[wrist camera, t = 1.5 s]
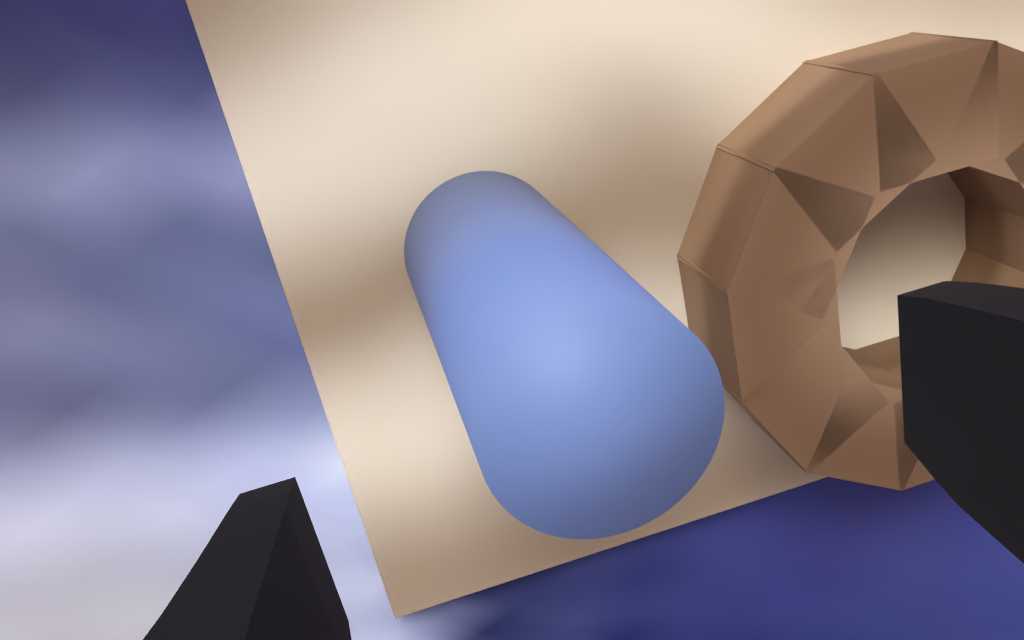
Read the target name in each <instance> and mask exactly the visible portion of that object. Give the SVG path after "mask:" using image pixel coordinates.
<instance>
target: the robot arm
mask: <svg viewBox="0 0 1024 640" xmlns="http://www.w3.org/2000/svg"><path fill="white" fill-rule="evenodd" d="M897 301H898V321H899V342H900V362H901V382H902V403H903V423H904V442H905V444H906V445H907V446H908V447H909V448H910V450H911V451H912V452H913V453H914V454H915V456H916V457H917V458H918V459H919V461H920V462H921V463H922V464H923V465H924V467H925V468H926V469H927V470H928V471H929V473H930V474H931V475H932V476H933V477H934V479H935V480H936V481H937V482H938V483H939V484H940V485H941V486H942V488H943V489H944V490H945V491H946V492H947V493H948V494H949V495H950V496H951V498H952V499H953V500H954V501H955V502H956V503H957V504H958V505H959V506H960V507H961V508H962V509H963V510H964V511H965V512H966V513H968V514H969V515H970V516H971V517H972V518H973V519H974V520H975V521H976V522H978V523H979V524H980V525H981V526H982V527H983V528H984V529H985V530H987V531H988V532H989V533H990V534H991V535H992V536H993V537H994V538H996V539H997V540H998V541H999V542H1000V543H1001V544H1002V545H1003V546H1005V547H1006V548H1007V549H1008V550H1009V551H1010V552H1011V553H1013V554H1014V555H1015V556H1016V557H1017V558H1018V559H1020V560H1021V561H1022V562H1023V563H1024V288H1018V287H1010V286H1002V285H994V284H985V283H975V282H960V281H943V282H940V283H936V284H933V285H930V286H926V287H923V288H920V289H916V290H913V291H910V292H906V293H903V294H900V295H897ZM143 640H351V634H350V628H349V622H348V619H347V616H346V613H345V611H344V608H343V605H342V603H341V600H340V597H339V594H338V592H337V589H336V586H335V584H334V581H333V578H332V576H331V573H330V570H329V568H328V565H327V562H326V559H325V557H324V554H323V551H322V549H321V546H320V543H319V541H318V538H317V535H316V532H315V530H314V527H313V524H312V522H311V519H310V516H309V514H308V511H307V508H306V506H305V503H304V500H303V497H302V495H301V492H300V489H299V487H298V484H297V481H296V479H295V477H294V478H291V479H288V480H284V481H281V482H278V483H274V484H271V485H268V486H264V487H261V488H258V489H254V490H251V491H248V492H245V493H241V494H240V495H239V496H238V497H237V499H236V500H235V502H234V503H233V505H232V506H231V508H230V509H229V511H228V512H227V514H226V516H225V517H224V519H223V520H222V522H221V523H220V525H219V527H218V528H217V530H216V531H215V533H214V535H213V536H212V538H211V539H210V541H209V543H208V544H207V546H206V547H205V549H204V551H203V552H202V554H201V555H200V557H199V558H198V560H197V562H196V563H195V565H194V566H193V568H192V569H191V571H190V572H189V574H188V575H187V577H186V578H185V580H184V581H183V583H182V584H181V586H180V587H179V589H178V591H177V592H176V594H175V595H174V597H173V598H172V600H171V601H170V603H169V604H168V606H167V607H166V609H165V610H164V612H163V613H162V615H161V616H160V617H159V619H158V620H157V621H156V623H155V624H154V626H153V627H152V628H151V630H150V631H149V632H148V634H147V635H146V636H145V638H144V639H143Z"/></svg>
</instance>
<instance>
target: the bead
mask: <svg viewBox="0 0 1024 640" xmlns="http://www.w3.org/2000/svg"><path fill="white" fill-rule="evenodd" d="M944 173H948V174H949V176H950V177H951V178H952V180H953V181H954V183H955V184H956V186H957V187H958V189H959V190H960V192H961V193H962V195H963V196H964V200H965V237H966V249H965V251H964V254H963V256H962V258H961V260H960V262H959V265H958V267H957V269H956V271H955V273H954V276H953V278H952V280H951V281H960V282H975V283H985V284H994V285H1002V286H1010V287H1018V288H1024V52H1023V51H1020V50H1017V49H1015V48H1012V47H1010V46H1007V45H1004V44H1002V43H999V42H998V41H997V40H987V39H977V38H967V37H957V36H947V35H937V34H927V33H917V32H910V33H909V34H905V35H902V36H898V37H894V38H890V39H887V40H883V41H879V42H875V43H872V44H868V45H864V46H860V47H857V48H853V49H849V50H846V51H842V52H838V53H834V54H831V55H827V56H823V57H819V58H816V59H812V60H806V61H805V62H803V64H802V65H801V66H800V67H799V68H797V69H796V70H795V71H794V72H793V73H792V74H791V75H790V76H789V77H788V78H787V79H786V80H785V81H784V82H783V83H782V84H781V85H780V86H779V87H778V88H777V89H776V90H774V91H773V92H772V93H771V94H770V95H769V96H768V97H767V98H766V99H765V100H764V101H763V102H762V103H761V104H760V105H759V106H758V107H757V108H756V109H755V110H754V111H753V112H751V113H750V114H749V115H748V116H747V117H746V118H745V119H744V120H743V121H742V122H741V123H740V124H739V125H738V126H737V127H736V128H735V129H734V130H733V131H732V132H731V133H730V134H728V135H727V136H726V137H725V138H724V139H723V140H722V141H721V142H720V143H718V144H717V146H716V150H715V153H714V155H713V158H712V161H711V164H710V166H709V169H708V172H707V175H706V177H705V180H704V183H703V186H702V188H701V191H700V194H699V197H698V199H697V202H696V205H695V208H694V210H693V213H692V216H691V219H690V221H689V224H688V227H687V229H686V232H685V235H684V238H683V240H682V243H681V246H680V249H679V251H678V253H677V258H678V264H679V270H680V277H681V283H682V290H683V296H684V302H685V309H686V315H687V321H688V328H689V330H690V331H692V332H693V333H694V334H695V335H696V336H697V337H698V338H699V339H700V340H701V341H702V343H703V344H704V345H705V347H706V348H707V349H708V350H709V352H710V354H711V356H712V357H713V359H714V361H715V363H716V365H717V368H718V371H719V373H720V376H721V380H722V385H723V388H724V389H725V390H726V391H727V392H728V393H729V394H730V395H731V396H732V398H733V399H734V400H735V401H736V402H737V403H738V404H739V405H740V406H741V407H742V408H743V409H744V410H745V411H746V412H747V413H748V415H749V416H750V417H751V418H752V420H753V421H754V422H755V423H756V424H757V425H758V426H759V427H760V428H761V429H762V430H763V431H764V432H765V433H766V434H767V435H768V436H769V437H770V438H771V439H772V440H773V441H774V442H775V443H776V444H777V445H778V446H779V447H780V448H781V449H782V450H783V451H784V452H785V453H786V454H787V455H789V456H790V457H791V458H792V459H793V460H794V461H795V462H796V463H797V464H798V465H799V466H800V467H801V468H802V469H803V470H804V471H805V472H806V473H808V474H810V473H811V474H816V475H821V476H827V477H832V478H837V479H843V480H848V481H853V482H858V483H864V484H869V485H874V486H880V487H885V488H890V489H895V490H899V491H903V490H905V489H908V488H911V487H914V486H917V485H920V484H923V483H926V482H929V481H932V480H935V479H934V477H933V476H932V475H931V474H930V473H929V471H928V470H927V469H926V468H925V467H924V465H923V464H922V463H921V462H920V461H919V459H918V458H917V457H916V456H915V454H914V453H913V452H912V451H911V450H910V448H909V447H908V446H907V445H906V444H905V442H904V423H903V403H902V382H901V362H900V342H899V336H897V337H894V338H891V339H888V340H884V341H881V342H878V343H875V344H871V345H868V346H865V347H862V348H859V349H851V348H846V347H842V346H841V336H840V324H839V313H838V301H837V290H836V289H837V286H838V284H839V282H840V279H841V277H842V274H843V272H844V270H845V267H846V265H847V263H848V260H849V258H850V255H851V253H852V251H853V248H854V246H855V243H856V241H857V239H858V236H859V234H860V231H861V229H862V228H863V227H864V226H865V225H866V224H867V223H868V222H869V221H871V220H872V219H873V218H874V217H875V216H876V215H877V214H878V213H879V212H880V211H881V210H882V209H883V208H885V207H886V206H887V205H888V204H889V203H890V202H891V201H892V200H893V199H894V198H895V197H896V196H897V195H899V194H900V193H901V192H902V191H903V190H904V189H905V188H906V187H907V186H908V185H909V184H910V183H913V182H916V181H920V180H923V179H927V178H930V177H933V176H937V175H940V174H944Z"/></svg>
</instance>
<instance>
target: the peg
mask: <svg viewBox="0 0 1024 640" xmlns="http://www.w3.org/2000/svg"><path fill="white" fill-rule="evenodd" d="M404 260H405V266H406V270H407V274H408V276H409V279H410V282H411V285H412V287H413V290H414V293H415V295H416V298H417V301H418V303H419V306H420V309H421V311H422V314H423V317H424V319H425V322H426V325H427V327H428V330H429V333H430V335H431V338H432V341H433V343H434V346H435V349H436V351H437V354H438V357H439V359H440V362H441V365H442V367H443V370H444V373H445V375H446V378H447V381H448V383H449V386H450V389H451V391H452V394H453V397H454V400H455V402H456V405H457V408H458V410H459V413H460V416H461V418H462V421H463V424H464V426H465V429H466V432H467V434H468V437H469V440H470V442H471V445H472V448H473V450H474V453H475V456H476V458H477V461H478V464H479V466H480V469H481V472H482V474H483V477H484V480H485V482H486V484H487V485H488V487H489V489H490V491H491V493H492V494H493V496H494V497H495V498H496V500H497V501H498V502H499V504H500V505H501V506H502V507H503V508H504V509H505V510H506V511H507V512H508V513H509V514H511V515H512V516H513V517H515V518H516V519H517V520H519V521H520V522H522V523H523V524H525V525H527V526H529V527H531V528H533V529H535V530H537V531H540V532H543V533H545V534H548V535H552V536H557V537H561V538H569V539H597V538H604V537H610V536H614V535H618V534H622V533H625V532H628V531H631V530H633V529H636V528H638V527H641V526H643V525H645V524H647V523H649V522H650V521H652V520H654V519H656V518H657V517H659V516H660V515H662V514H664V513H665V512H667V511H668V510H669V509H670V508H672V507H673V506H674V505H675V504H677V503H678V502H679V501H680V500H681V499H682V498H683V497H684V496H685V495H686V494H687V493H688V492H689V491H690V490H691V489H692V488H693V486H694V485H695V484H696V483H697V481H698V480H699V479H700V478H701V476H702V475H703V473H704V471H705V470H706V468H707V467H708V465H709V463H710V461H711V459H712V457H713V455H714V453H715V451H716V448H717V445H718V442H719V439H720V436H721V432H722V427H723V422H724V411H725V400H724V389H723V385H722V380H721V376H720V373H719V371H718V368H717V365H716V363H715V361H714V359H713V357H712V356H711V354H710V352H709V350H708V349H707V348H706V347H705V345H704V344H703V343H702V341H701V340H700V339H699V338H698V337H697V336H696V335H695V334H694V333H693V332H692V331H690V330H689V329H688V328H687V327H686V326H685V325H684V324H683V323H682V322H681V321H680V320H678V319H677V318H676V317H675V316H674V315H673V314H672V313H671V312H670V311H669V310H667V309H666V308H665V307H664V306H663V305H662V304H661V303H660V302H659V301H658V300H656V299H655V298H654V297H653V296H652V295H651V294H650V293H649V292H648V291H647V290H645V289H644V288H643V287H642V286H641V285H640V284H639V283H638V282H637V281H636V280H634V279H633V278H632V277H631V276H630V275H629V274H628V273H627V272H626V271H625V270H624V269H622V268H621V267H620V266H619V265H618V264H617V263H616V262H615V261H614V260H613V259H611V258H610V257H609V256H608V255H607V254H606V253H605V252H604V251H603V250H602V249H600V248H599V247H598V246H597V245H596V244H595V243H594V242H593V241H592V240H591V239H589V238H588V237H587V236H586V235H585V234H584V233H583V232H582V231H581V230H580V229H578V228H577V227H576V226H575V225H574V224H573V223H572V222H571V221H570V220H569V219H567V218H566V217H565V216H564V215H563V214H562V213H561V212H560V211H559V210H558V209H556V208H555V207H554V206H553V205H552V204H551V203H550V202H549V201H548V200H547V199H546V198H544V197H543V196H542V195H541V194H540V193H539V192H538V191H537V190H536V189H535V188H533V187H532V186H531V185H529V184H528V183H526V182H525V181H523V180H521V179H519V178H517V177H515V176H512V175H509V174H506V173H501V172H496V171H476V172H471V173H466V174H462V175H459V176H456V177H454V178H452V179H450V180H448V181H446V182H444V183H443V184H441V185H440V186H438V187H437V188H435V189H434V190H433V191H432V192H431V193H430V194H428V195H427V196H426V198H425V199H424V200H423V201H422V202H421V203H420V205H419V206H418V208H417V209H416V211H415V212H414V214H413V216H412V218H411V220H410V223H409V226H408V229H407V232H406V237H405V243H404Z"/></svg>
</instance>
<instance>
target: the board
mask: <svg viewBox="0 0 1024 640" xmlns="http://www.w3.org/2000/svg"><path fill="white" fill-rule="evenodd" d="M186 3H187V6H188V9H189V12H190V15H191V18H192V20H193V23H194V26H195V29H196V32H197V35H198V38H199V41H200V44H201V47H202V50H203V53H204V56H205V59H206V62H207V65H208V68H209V71H210V74H211V76H212V79H213V82H214V85H215V88H216V91H217V94H218V97H219V100H220V103H221V106H222V109H223V112H224V115H225V118H226V121H227V124H228V127H229V130H230V132H231V135H232V138H233V141H234V144H235V147H236V150H237V153H238V156H239V159H240V162H241V165H242V168H243V171H244V174H245V177H246V180H247V183H248V186H249V188H250V191H251V194H252V197H253V200H254V203H255V206H256V209H257V212H258V215H259V218H260V221H261V224H262V227H263V230H264V233H265V236H266V239H267V242H268V244H269V247H270V250H271V253H272V256H273V259H274V262H275V265H276V268H277V271H278V274H279V277H280V280H281V283H282V286H283V289H284V292H285V295H286V298H287V300H288V303H289V306H290V309H291V312H292V315H293V318H294V321H295V324H296V327H297V330H298V333H299V336H300V339H301V342H302V345H303V348H304V351H305V354H306V356H307V359H308V362H309V365H310V368H311V371H312V374H313V377H314V380H315V383H316V386H317V389H318V392H319V395H320V398H321V401H322V404H323V407H324V410H325V412H326V415H327V418H328V421H329V424H330V427H331V430H332V433H333V436H334V439H335V442H336V445H337V448H338V451H339V454H340V457H341V460H342V463H343V465H344V468H345V471H346V474H347V477H348V480H349V483H350V486H351V489H352V492H353V495H354V498H355V501H356V504H357V507H358V510H359V513H360V516H361V519H362V521H363V524H364V527H365V530H366V533H367V536H368V539H369V542H370V545H371V548H372V551H373V554H374V557H375V560H376V563H377V566H378V569H379V572H380V575H381V577H382V580H383V583H384V586H385V589H386V592H387V595H388V598H389V601H390V604H391V607H392V610H393V613H394V616H395V618H398V617H401V616H404V615H407V614H410V613H413V612H416V611H419V610H422V609H426V608H429V607H432V606H435V605H438V604H441V603H444V602H447V601H450V600H453V599H456V598H459V597H462V596H465V595H468V594H471V593H474V592H477V591H481V590H484V589H487V588H490V587H493V586H496V585H499V584H502V583H505V582H508V581H511V580H514V579H517V578H520V577H523V576H526V575H529V574H533V573H536V572H539V571H542V570H545V569H548V568H551V567H554V566H557V565H560V564H563V563H566V562H569V561H572V560H575V559H578V558H581V557H585V556H588V555H591V554H594V553H597V552H600V551H603V550H606V549H609V548H612V547H615V546H618V545H621V544H624V543H627V542H630V541H633V540H637V539H640V538H643V537H646V536H649V535H652V534H655V533H658V532H661V531H664V530H667V529H670V528H673V527H676V526H679V525H682V524H685V523H688V522H692V521H695V520H698V519H701V518H704V517H707V516H710V515H713V514H716V513H719V512H722V511H725V510H728V509H731V508H734V507H737V506H740V505H744V504H747V503H750V502H753V501H756V500H759V499H762V498H765V497H768V496H771V495H774V494H777V493H780V492H783V491H786V490H789V489H792V488H796V487H799V486H802V485H805V484H808V483H811V482H814V481H817V480H820V479H823V478H826V477H827V476H821V475H816V474H811V473H810V474H808V473H806V472H805V471H804V470H803V469H802V468H801V467H800V466H799V465H798V464H797V463H796V462H795V461H794V460H793V459H792V458H791V457H790V456H789V455H787V454H786V453H785V452H784V451H783V450H782V449H781V448H780V447H779V446H778V445H777V444H776V443H775V442H774V441H773V440H772V439H771V438H770V437H769V436H768V435H767V434H766V433H765V432H764V431H763V430H762V429H761V428H760V427H759V426H758V425H757V424H756V423H755V422H754V421H753V420H752V418H751V417H750V416H749V415H748V413H747V412H746V411H745V410H744V409H743V408H742V407H741V406H740V405H739V404H738V403H737V402H736V401H735V400H734V399H733V398H732V396H731V395H730V394H729V393H728V392H727V391H726V390H725V389H724V388H723V389H724V400H725V411H724V422H723V427H722V432H721V436H720V439H719V442H718V445H717V448H716V451H715V453H714V455H713V457H712V459H711V461H710V463H709V465H708V467H707V468H706V470H705V471H704V473H703V475H702V476H701V478H700V479H699V480H698V481H697V483H696V484H695V485H694V486H693V488H692V489H691V490H690V491H689V492H688V493H687V494H686V495H685V496H684V497H683V498H682V499H681V500H680V501H679V502H678V503H677V504H675V505H674V506H673V507H672V508H670V509H669V510H668V511H667V512H665V513H664V514H662V515H660V516H659V517H657V518H656V519H654V520H652V521H650V522H649V523H647V524H645V525H643V526H641V527H638V528H636V529H633V530H631V531H628V532H625V533H622V534H618V535H614V536H610V537H604V538H597V539H569V538H561V537H557V536H552V535H548V534H545V533H543V532H540V531H537V530H535V529H533V528H531V527H529V526H527V525H525V524H523V523H522V522H520V521H519V520H517V519H516V518H515V517H513V516H512V515H511V514H509V513H508V512H507V511H506V510H505V509H504V508H503V507H502V506H501V505H500V504H499V502H498V501H497V500H496V498H495V497H494V496H493V494H492V493H491V491H490V489H489V487H488V485H487V484H486V482H485V480H484V477H483V474H482V472H481V469H480V466H479V464H478V461H477V458H476V456H475V453H474V450H473V448H472V445H471V442H470V440H469V437H468V434H467V432H466V429H465V426H464V424H463V421H462V418H461V416H460V413H459V410H458V408H457V405H456V402H455V400H454V397H453V394H452V391H451V389H450V386H449V383H448V381H447V378H446V375H445V373H444V370H443V367H442V365H441V362H440V359H439V357H438V354H437V351H436V349H435V346H434V343H433V341H432V338H431V335H430V333H429V330H428V327H427V325H426V322H425V319H424V317H423V314H422V311H421V309H420V306H419V303H418V301H417V298H416V295H415V293H414V290H413V287H412V285H411V282H410V279H409V276H408V274H407V270H406V266H405V260H404V243H405V237H406V232H407V229H408V226H409V223H410V220H411V218H412V216H413V214H414V212H415V211H416V209H417V208H418V206H419V205H420V203H421V202H422V201H423V200H424V199H425V198H426V196H427V195H428V194H430V193H431V192H432V191H433V190H434V189H435V188H437V187H438V186H440V185H441V184H443V183H444V182H446V181H448V180H450V179H452V178H454V177H456V176H459V175H462V174H466V173H471V172H476V171H496V172H501V173H506V174H509V175H512V176H515V177H517V178H519V179H521V180H523V181H525V182H526V183H528V184H529V185H531V186H532V187H533V188H535V189H536V190H537V191H538V192H539V193H540V194H541V195H542V196H543V197H544V198H546V199H547V200H548V201H549V202H550V203H551V204H552V205H553V206H554V207H555V208H556V209H558V210H559V211H560V212H561V213H562V214H563V215H564V216H565V217H566V218H567V219H569V220H570V221H571V222H572V223H573V224H574V225H575V226H576V227H577V228H578V229H580V230H581V231H582V232H583V233H584V234H585V235H586V236H587V237H588V238H589V239H591V240H592V241H593V242H594V243H595V244H596V245H597V246H598V247H599V248H600V249H602V250H603V251H604V252H605V253H606V254H607V255H608V256H609V257H610V258H611V259H613V260H614V261H615V262H616V263H617V264H618V265H619V266H620V267H621V268H622V269H624V270H625V271H626V272H627V273H628V274H629V275H630V276H631V277H632V278H633V279H634V280H636V281H637V282H638V283H639V284H640V285H641V286H642V287H643V288H644V289H645V290H647V291H648V292H649V293H650V294H651V295H652V296H653V297H654V298H655V299H656V300H658V301H659V302H660V303H661V304H662V305H663V306H664V307H665V308H666V309H667V310H669V311H670V312H671V313H672V314H673V315H674V316H675V317H676V318H677V319H678V320H680V321H681V322H682V323H683V324H684V325H685V326H686V327H687V328H688V321H687V315H686V309H685V302H684V296H683V290H682V283H681V277H680V270H679V264H678V258H677V253H678V251H679V249H680V246H681V243H682V240H683V238H684V235H685V232H686V229H687V227H688V224H689V221H690V219H691V216H692V213H693V210H694V208H695V205H696V202H697V199H698V197H699V194H700V191H701V188H702V186H703V183H704V180H705V177H706V175H707V172H708V169H709V166H710V164H711V161H712V158H713V155H714V153H715V150H716V146H717V144H718V143H720V142H721V141H722V140H723V139H724V138H725V137H726V136H727V135H728V134H730V133H731V132H732V131H733V130H734V129H735V128H736V127H737V126H738V125H739V124H740V123H741V122H742V121H743V120H744V119H745V118H746V117H747V116H748V115H749V114H750V113H751V112H753V111H754V110H755V109H756V108H757V107H758V106H759V105H760V104H761V103H762V102H763V101H764V100H765V99H766V98H767V97H768V96H769V95H770V94H771V93H772V92H773V91H774V90H776V89H777V88H778V87H779V86H780V85H781V84H782V83H783V82H784V81H785V80H786V79H787V78H788V77H789V76H790V75H791V74H792V73H793V72H794V71H795V70H796V69H797V68H799V67H800V66H801V65H802V64H803V62H805V61H806V60H812V59H816V58H819V57H823V56H827V55H831V54H834V53H838V52H842V51H846V50H849V49H853V48H857V47H860V46H864V45H868V44H872V43H875V42H879V41H883V40H887V39H890V38H894V37H898V36H902V35H905V34H909V33H910V32H917V33H927V34H937V35H947V36H957V37H967V38H977V39H987V40H997V41H998V42H999V43H1002V44H1004V45H1007V46H1010V47H1012V48H1015V49H1017V50H1020V51H1023V52H1024V0H186ZM965 249H966V237H965V200H964V196H963V195H962V193H961V192H960V190H959V189H958V187H957V186H956V184H955V183H954V181H953V180H952V178H951V177H950V176H949V174H948V173H944V174H940V175H937V176H933V177H930V178H927V179H923V180H920V181H916V182H913V183H910V184H909V185H908V186H907V187H906V188H905V189H904V190H903V191H902V192H901V193H900V194H899V195H897V196H896V197H895V198H894V199H893V200H892V201H891V202H890V203H889V204H888V205H887V206H886V207H885V208H883V209H882V210H881V211H880V212H879V213H878V214H877V215H876V216H875V217H874V218H873V219H872V220H871V221H869V222H868V223H867V224H866V225H865V226H864V227H863V228H862V229H861V231H860V234H859V236H858V239H857V241H856V243H855V246H854V248H853V251H852V253H851V255H850V258H849V260H848V263H847V265H846V267H845V270H844V272H843V274H842V277H841V279H840V282H839V284H838V286H837V289H836V290H837V301H838V313H839V324H840V336H841V346H842V347H846V348H851V349H859V348H862V347H865V346H868V345H871V344H875V343H878V342H881V341H884V340H888V339H891V338H894V337H897V336H899V321H898V301H897V295H900V294H903V293H906V292H910V291H913V290H916V289H920V288H923V287H926V286H930V285H933V284H936V283H940V282H943V281H951V280H952V278H953V276H954V273H955V271H956V269H957V267H958V265H959V262H960V260H961V258H962V256H963V254H964V251H965ZM688 329H689V328H688Z"/></svg>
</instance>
